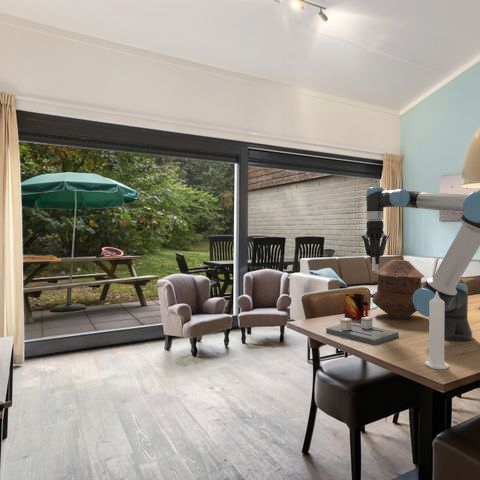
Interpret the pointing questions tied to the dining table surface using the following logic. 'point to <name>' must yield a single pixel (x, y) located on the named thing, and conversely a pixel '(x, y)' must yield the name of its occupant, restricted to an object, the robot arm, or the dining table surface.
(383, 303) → the pottery vessel
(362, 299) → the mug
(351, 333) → the console
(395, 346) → the dining table surface
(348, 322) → the fader
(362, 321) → the fader
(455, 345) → the dining table surface
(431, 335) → the candle
